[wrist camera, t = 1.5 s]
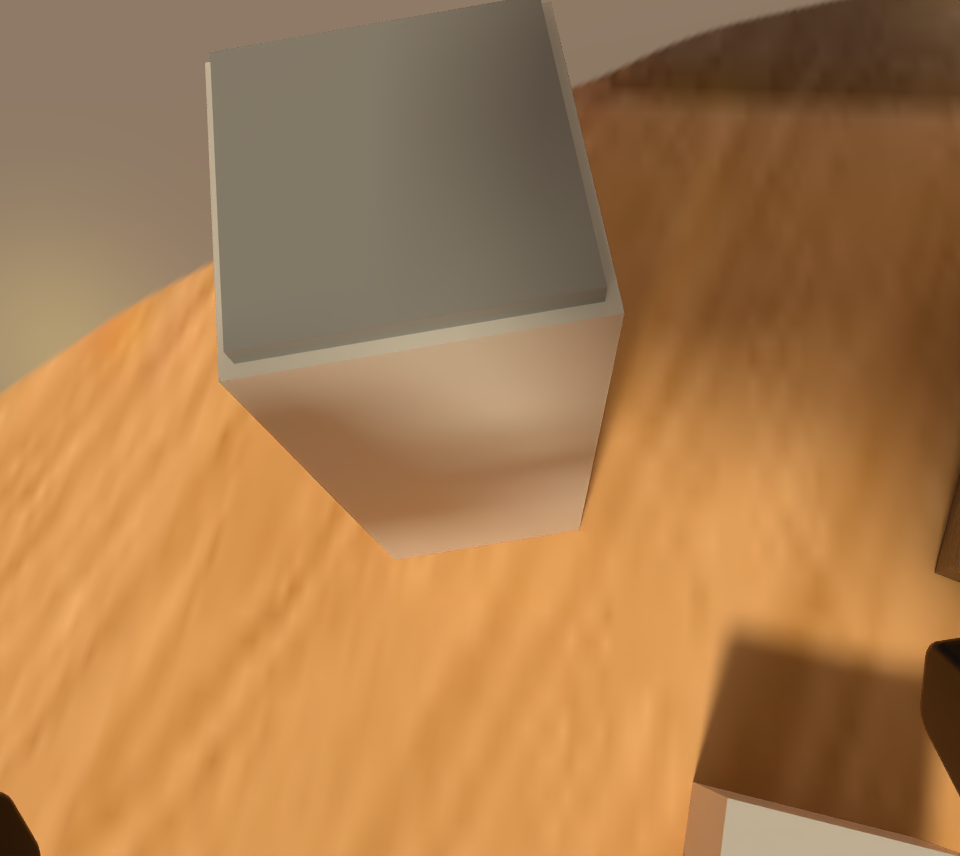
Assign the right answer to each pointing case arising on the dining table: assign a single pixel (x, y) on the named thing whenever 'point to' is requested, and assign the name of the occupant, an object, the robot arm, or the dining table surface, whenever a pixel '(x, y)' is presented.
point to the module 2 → (785, 830)
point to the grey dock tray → (951, 543)
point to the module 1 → (416, 270)
